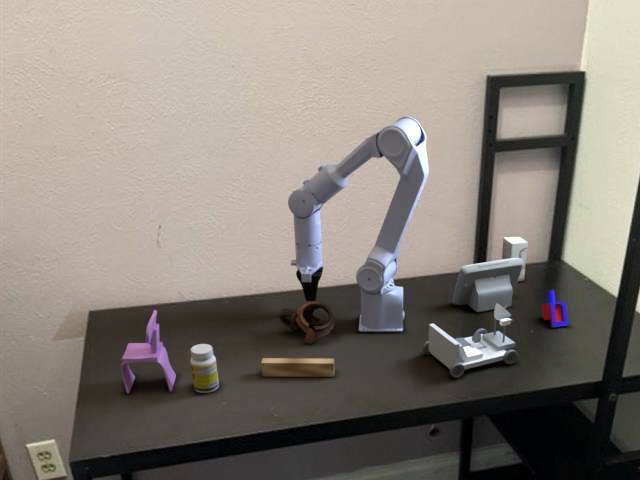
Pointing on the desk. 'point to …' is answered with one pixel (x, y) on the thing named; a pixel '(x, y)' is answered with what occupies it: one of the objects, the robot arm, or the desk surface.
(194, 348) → the supplement bottle
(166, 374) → the chair
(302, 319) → the pottery mug
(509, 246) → the white tall block
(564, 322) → the toy building block
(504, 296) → the digital clock
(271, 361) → the bar
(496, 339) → the toy cart
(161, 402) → the desk surface
